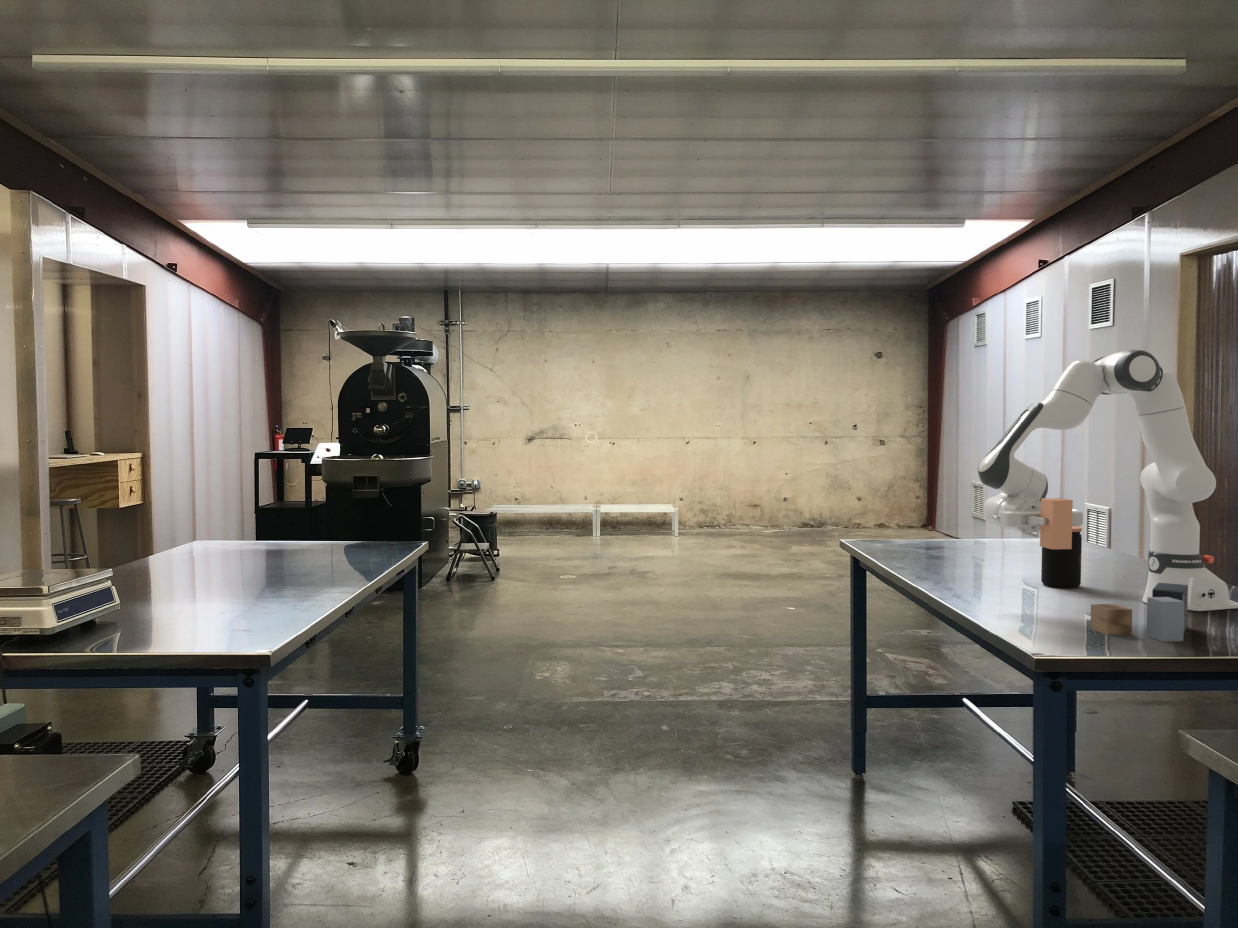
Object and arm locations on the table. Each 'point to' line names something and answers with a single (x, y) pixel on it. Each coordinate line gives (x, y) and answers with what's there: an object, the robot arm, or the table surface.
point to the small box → (1173, 595)
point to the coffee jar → (1063, 564)
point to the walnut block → (1111, 619)
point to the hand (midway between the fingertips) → (1058, 521)
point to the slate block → (1165, 618)
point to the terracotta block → (1056, 523)
